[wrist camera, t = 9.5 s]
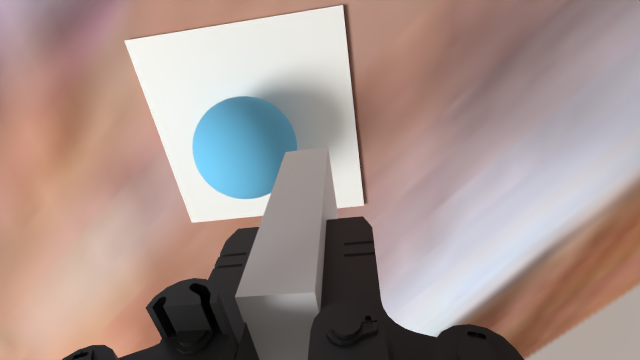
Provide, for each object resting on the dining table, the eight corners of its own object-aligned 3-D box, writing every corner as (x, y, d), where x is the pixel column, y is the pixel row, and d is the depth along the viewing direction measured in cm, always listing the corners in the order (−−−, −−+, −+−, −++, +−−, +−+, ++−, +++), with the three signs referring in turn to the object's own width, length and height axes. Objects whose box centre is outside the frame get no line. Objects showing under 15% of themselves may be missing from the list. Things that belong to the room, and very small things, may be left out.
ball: (264, 68, 16) (191, 80, 19) (226, 182, 15) (155, 175, 18) (326, 124, 20) (258, 126, 23) (301, 216, 19) (233, 205, 22)
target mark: (126, 40, 19) (124, 40, 19) (342, 5, 18) (342, 5, 18) (193, 221, 25) (192, 222, 25) (363, 204, 23) (364, 205, 23)
